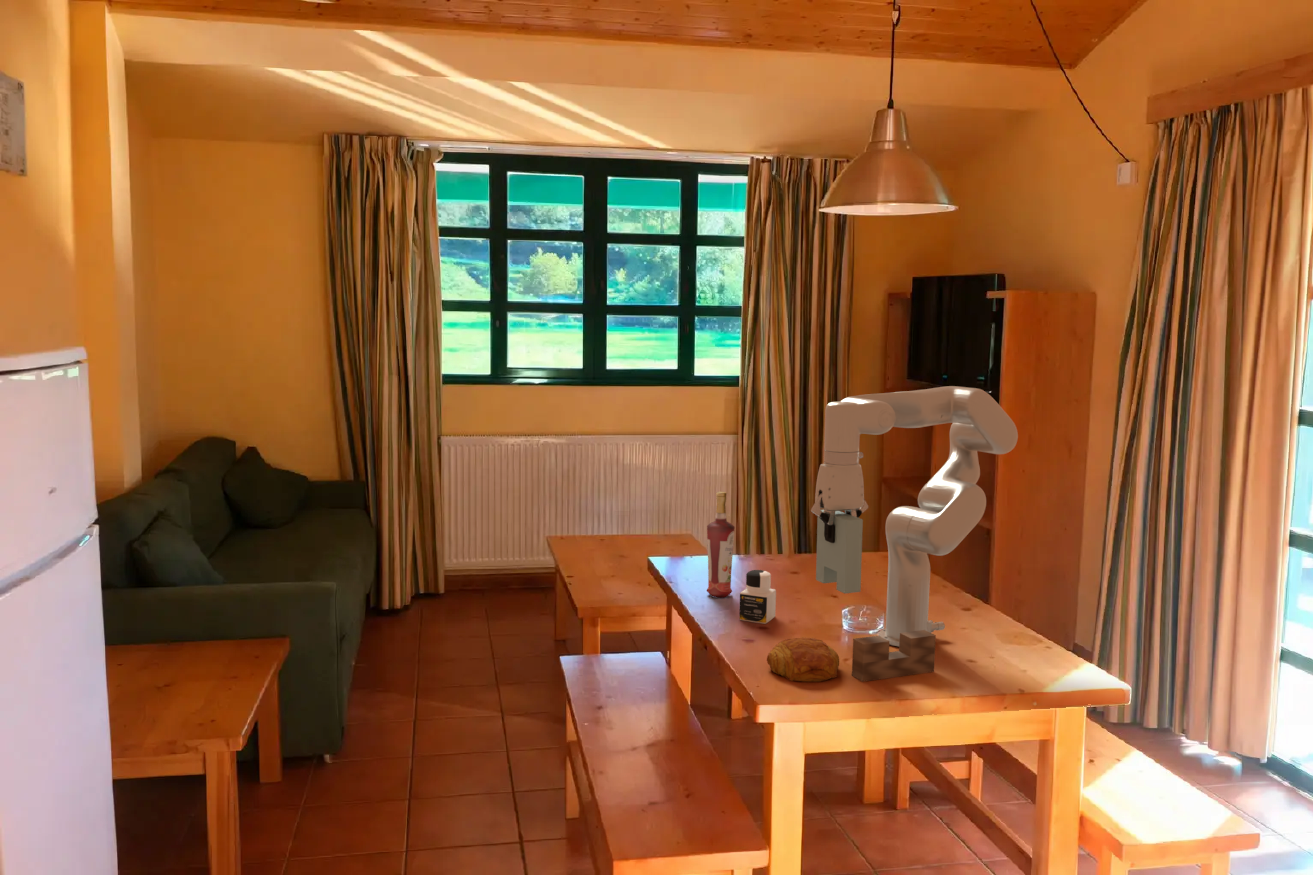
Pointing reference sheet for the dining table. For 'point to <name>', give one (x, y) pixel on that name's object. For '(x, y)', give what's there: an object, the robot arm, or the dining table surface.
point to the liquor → (720, 551)
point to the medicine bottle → (757, 598)
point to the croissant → (804, 660)
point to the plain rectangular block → (841, 553)
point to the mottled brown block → (893, 656)
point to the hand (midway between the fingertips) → (839, 539)
